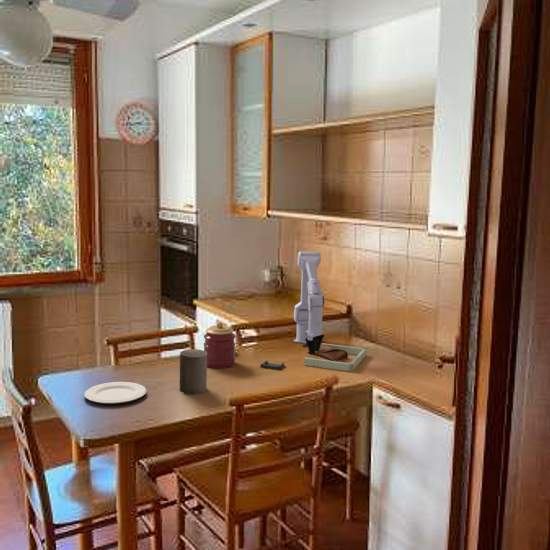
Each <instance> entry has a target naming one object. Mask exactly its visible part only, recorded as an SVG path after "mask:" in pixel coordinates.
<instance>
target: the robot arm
mask: <svg viewBox="0 0 550 550" xmlns="http://www.w3.org/2000/svg"><path fill="white" fill-rule="evenodd" d="M321 257H322V255H321V253H320V251H301V250H300V251H299V252H297V261H296V262H297V264H296V265H297V268H300V271H301V281H300V282H301V283H300V284H301V285H300V301H299V302H298V303H297V304H295V305H294V310H293V320H294V322H295V323H296V334H295V335H296V337H295V339H294V340H293V342H294V343H302V344H305V343H307V345H308V348H307V350H308V351H309V355H311V356H316V355H315V351H319V349H320V345H321V344H322V342H323V339H324V338H325V334H323V308H325V300H326V299H325V295H324V292H322V287H321V286H322V285H321V281H320V280H319V279H318V269H317V268H319V266H320V265H321V262H322V260H321V259H322V258H321Z"/></svg>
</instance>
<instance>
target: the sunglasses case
mask: <svg viewBox="0 0 550 550" xmlns="http://www.w3.org/2000/svg"><path fill="white" fill-rule="evenodd" d="M308 353H309V350H308V351H307V353H306V354H308ZM314 356H316V357H319V356H320V358H322V359H324V360H328V361H336V362H341V361H344V360H348V358H349V354H347V352H346V351H344V350H340V349H336V348H333V347H330V346H326V345H323V344H322V343H321V345H320V349H319V351H315V355H314Z"/></svg>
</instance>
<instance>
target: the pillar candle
mask: <svg viewBox="0 0 550 550" xmlns="http://www.w3.org/2000/svg"><path fill="white" fill-rule="evenodd" d="M207 368H208V367H207V352H205V351H204V349H203V350H202V349H198V348H197V349H193V348H191V349H190V348H189V349H184V350H182V351H181V350H180V353H179V389H178V390H179V392H180V393H183V392H184V393H183V394H187V393H188V395H198V394H203V393H204V392H206V391H207V380H208V379H207V373H208V369H207ZM195 393H196V394H195ZM197 393H198V394H197Z"/></svg>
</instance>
